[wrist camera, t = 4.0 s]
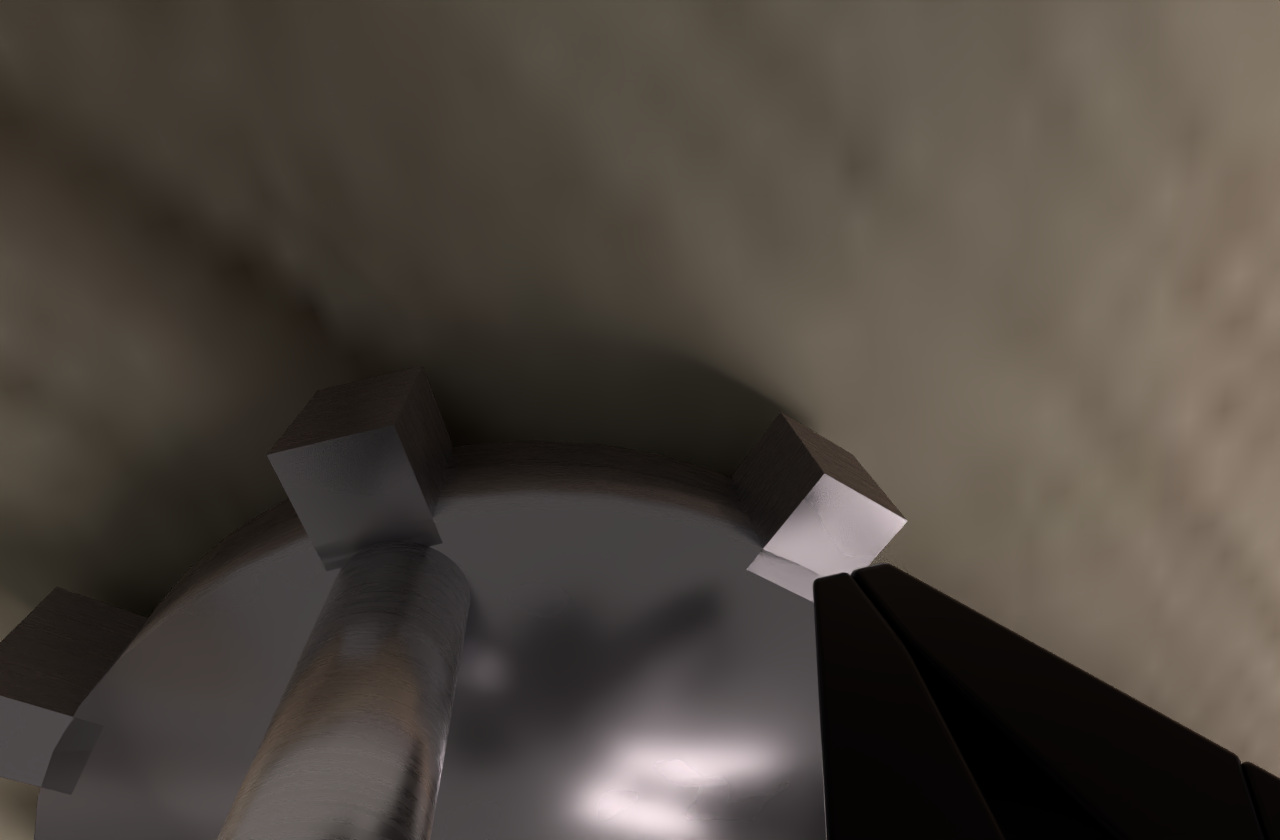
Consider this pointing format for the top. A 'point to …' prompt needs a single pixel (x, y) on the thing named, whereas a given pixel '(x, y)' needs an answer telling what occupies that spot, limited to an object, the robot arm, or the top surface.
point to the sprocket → (458, 647)
